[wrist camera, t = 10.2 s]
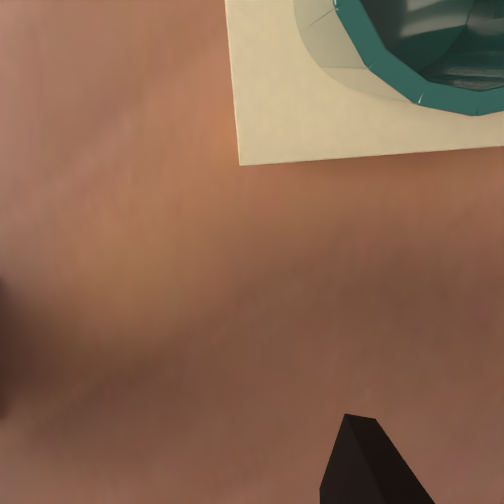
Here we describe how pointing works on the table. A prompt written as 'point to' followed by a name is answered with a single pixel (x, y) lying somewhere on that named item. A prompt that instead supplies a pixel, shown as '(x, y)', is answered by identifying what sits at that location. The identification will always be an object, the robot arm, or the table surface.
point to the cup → (411, 49)
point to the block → (324, 101)
